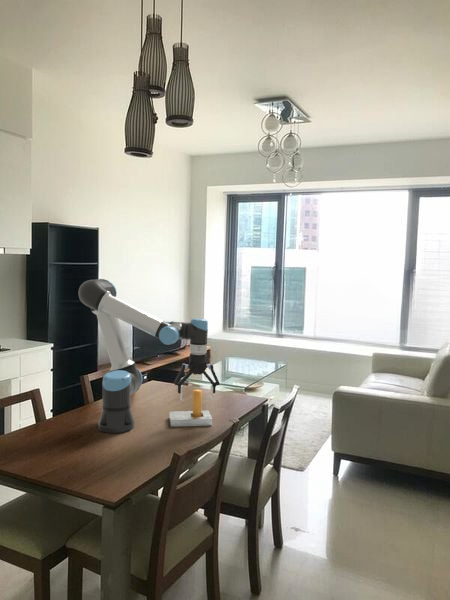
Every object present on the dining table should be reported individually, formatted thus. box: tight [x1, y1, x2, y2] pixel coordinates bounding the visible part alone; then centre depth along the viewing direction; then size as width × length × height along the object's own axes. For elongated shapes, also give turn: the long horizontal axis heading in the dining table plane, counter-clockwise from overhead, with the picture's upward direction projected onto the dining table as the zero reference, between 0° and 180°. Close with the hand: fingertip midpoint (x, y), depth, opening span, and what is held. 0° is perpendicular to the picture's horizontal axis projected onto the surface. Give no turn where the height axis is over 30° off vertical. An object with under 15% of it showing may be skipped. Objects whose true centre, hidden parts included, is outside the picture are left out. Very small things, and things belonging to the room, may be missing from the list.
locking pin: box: [192, 389, 203, 417], centre depth 213 cm, size 4×4×14 cm
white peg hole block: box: [168, 409, 213, 428], centre depth 213 cm, size 18×12×3 cm, turn 99°
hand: (196, 400), depth 213 cm, fingers open, 13 cm apart
